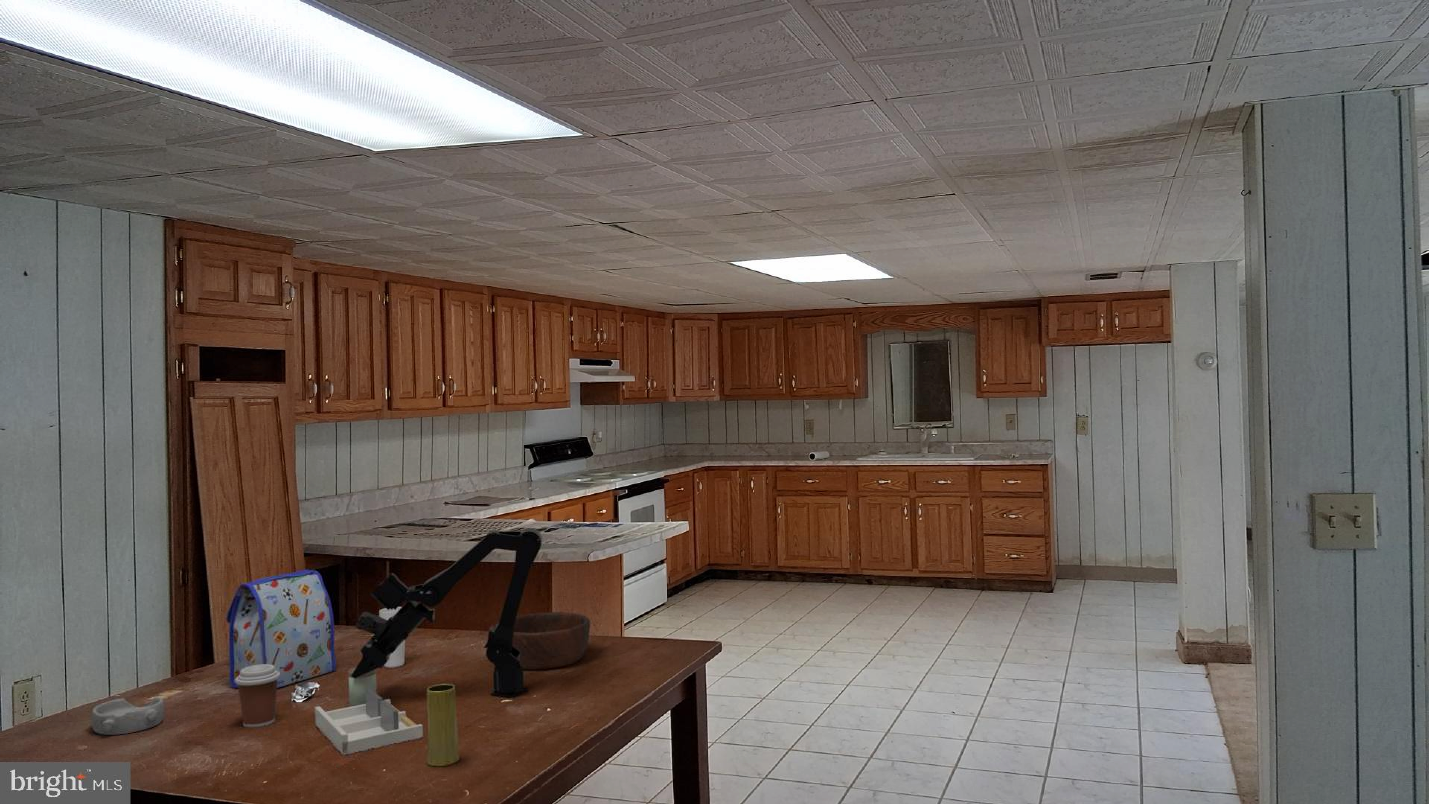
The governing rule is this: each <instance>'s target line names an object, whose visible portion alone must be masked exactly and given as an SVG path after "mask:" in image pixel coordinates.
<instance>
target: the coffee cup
mask: <svg viewBox="0 0 1429 804" xmlns="http://www.w3.org/2000/svg"><path fill="white" fill-rule="evenodd" d="M279 678H280V672H278V671H277V670H275V666H274V665H270V664H261V665H253V666H249V667H245V668H243V669H242V670H241V671H240V674H239V676H238V677H236V679H235V683H236V684H237V685H238V686H239V688H238V691H239V692H238V693H239V700H240V708H241V709H240V710H241V715H242V716H241V717H242V718H241V719H242V725H243V727H245V728H259V727H265V726H268V725H271V724H273V723H275V722H276V710H277V709H276V707H277V691H278V688H277V679H279ZM272 722H273V723H272ZM264 725H265V726H264Z"/></svg>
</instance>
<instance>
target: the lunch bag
mask: <svg viewBox="0 0 1429 804" xmlns="http://www.w3.org/2000/svg"><path fill="white" fill-rule="evenodd" d="M225 618H226V622H227V623H228V624H229V628H228V630H229V631H228V654H229V655H228V656H229V657H228V666H229V682H228V683H229V684H230V686H231V687H233V688H238V689H239V686H238V685H237V684H236V683H235V679H236V677H238V676H239V674H240V671H241V670H242V669H243V668H245V667H249V666H253V665H261V664H270V665H274V666H275V670H277V671H278V672H280V678H279V679H277V689H278V688H281V687H285V686H287V685H292V684H294V683H297V682H302V681H305V680H308V679H311V678H315V677H318V676H321V675H324V674H328V673H331V672H335V671H336V670H337V663H336V661H337V660H336V654H335V622H334V612H333V607H332V602H331V598H330V596H329V593H328V591H327V588H326V586H325V584H324V580H323V577H322V575H321V573H320V572H319V571H317V570H313V569H312V570H309V569H304V570H303V569H302V570H299V571H294V572H290V573H283V574H281V575H280V574H279V575H275V576H267V577H261V578H259V579H256V580H254V581H253V580H252V581H249V582H246V583H240V585H239V587H238V588H237V591H236V592H235V594H234V597H233V599H232V601H231V603H230V606H229V608H228V610H227V614H226V617H225Z"/></svg>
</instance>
